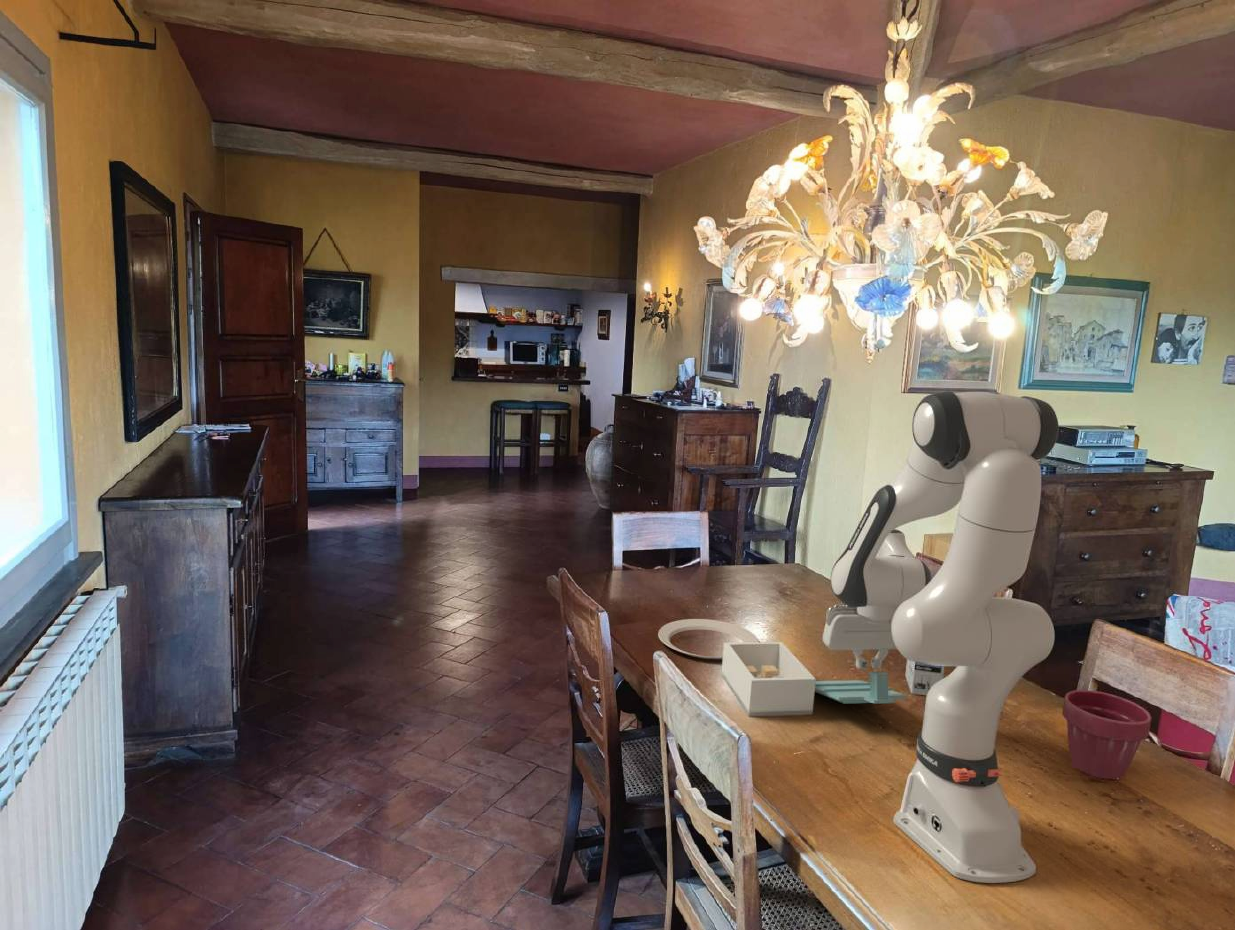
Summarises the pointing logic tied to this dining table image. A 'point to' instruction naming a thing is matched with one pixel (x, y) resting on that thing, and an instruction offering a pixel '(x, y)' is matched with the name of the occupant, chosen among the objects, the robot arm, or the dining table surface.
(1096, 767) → the plant pot
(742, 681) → the tub
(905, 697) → the lid
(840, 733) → the dining table surface
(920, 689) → the light bulb box
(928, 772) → the robot arm
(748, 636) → the beige flat ring
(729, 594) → the dining table surface
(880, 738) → the dining table surface
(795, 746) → the dining table surface
